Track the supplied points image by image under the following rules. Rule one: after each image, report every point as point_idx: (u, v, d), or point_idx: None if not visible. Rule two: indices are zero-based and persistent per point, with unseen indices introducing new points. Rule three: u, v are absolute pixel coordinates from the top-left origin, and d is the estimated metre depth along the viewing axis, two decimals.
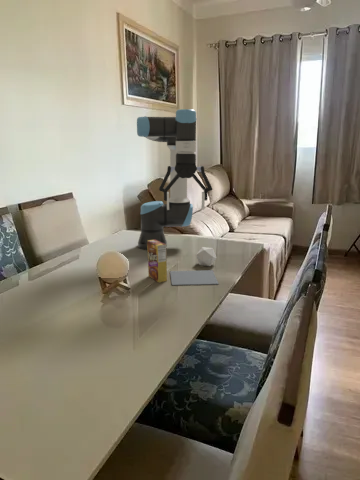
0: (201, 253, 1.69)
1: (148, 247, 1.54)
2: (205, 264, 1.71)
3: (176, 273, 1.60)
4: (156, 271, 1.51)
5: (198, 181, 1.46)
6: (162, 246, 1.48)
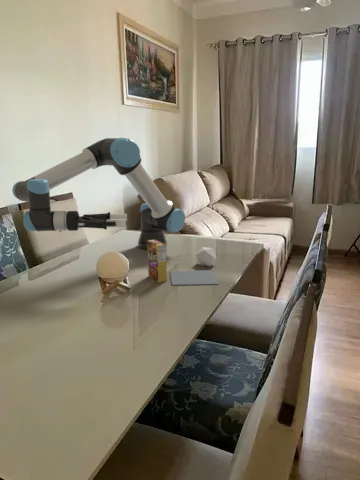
0: (201, 253, 1.69)
1: (148, 247, 1.54)
2: (205, 264, 1.71)
3: (176, 273, 1.60)
4: (156, 271, 1.51)
5: None
6: (162, 246, 1.48)
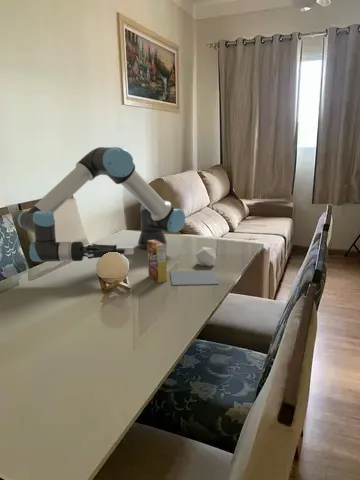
0: (201, 253, 1.69)
1: (148, 247, 1.54)
2: (205, 264, 1.71)
3: (176, 273, 1.60)
4: (156, 271, 1.51)
5: None
6: (162, 246, 1.48)
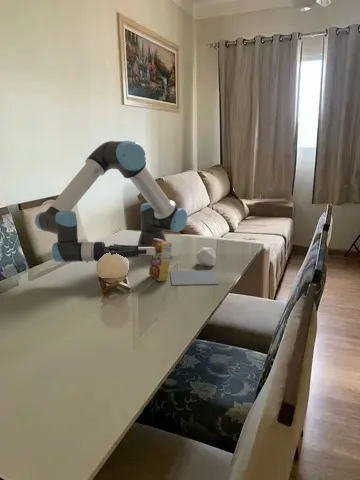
0: (201, 253, 1.69)
1: (153, 245, 1.55)
2: (205, 264, 1.71)
3: (176, 273, 1.60)
4: (158, 269, 1.51)
5: None
6: (168, 245, 1.49)
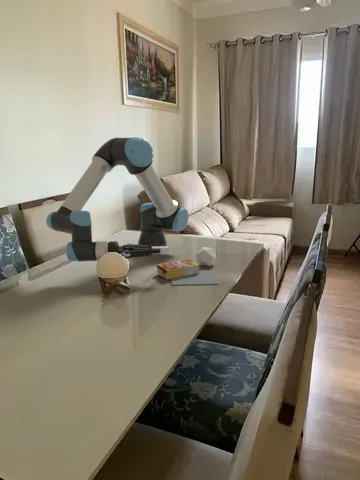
0: (201, 253, 1.69)
1: (184, 260, 1.64)
2: (205, 264, 1.71)
3: None
4: (175, 267, 1.55)
5: None
6: (198, 269, 1.59)
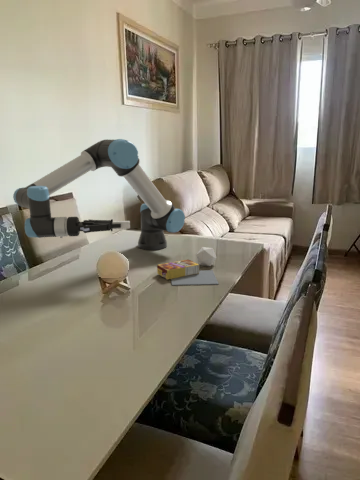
0: (201, 253, 1.69)
1: (184, 260, 1.64)
2: (205, 264, 1.71)
3: None
4: (175, 267, 1.55)
5: None
6: (198, 269, 1.59)
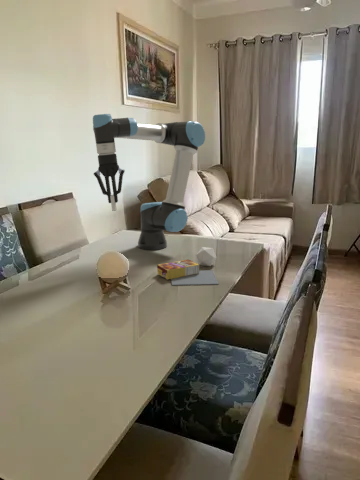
0: (201, 253, 1.69)
1: (184, 260, 1.64)
2: (205, 264, 1.71)
3: None
4: (175, 267, 1.55)
5: (113, 182, 1.60)
6: (198, 269, 1.59)
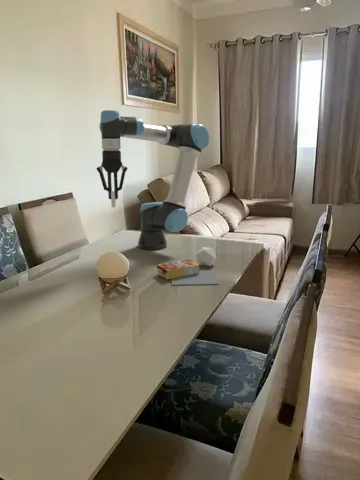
0: (201, 253, 1.69)
1: (184, 260, 1.64)
2: (205, 264, 1.71)
3: None
4: (175, 267, 1.55)
5: (115, 179, 1.61)
6: (198, 269, 1.59)
